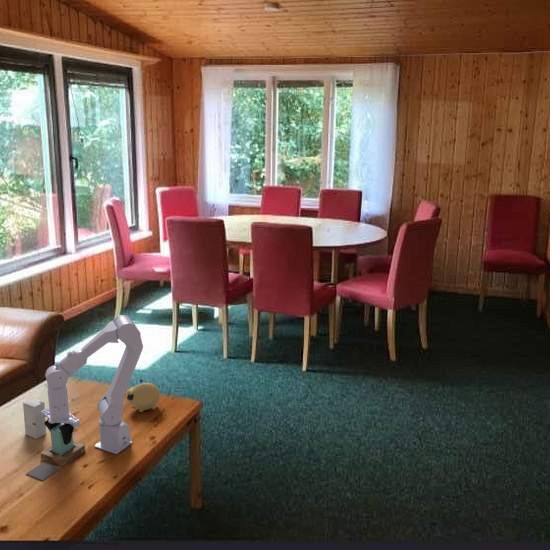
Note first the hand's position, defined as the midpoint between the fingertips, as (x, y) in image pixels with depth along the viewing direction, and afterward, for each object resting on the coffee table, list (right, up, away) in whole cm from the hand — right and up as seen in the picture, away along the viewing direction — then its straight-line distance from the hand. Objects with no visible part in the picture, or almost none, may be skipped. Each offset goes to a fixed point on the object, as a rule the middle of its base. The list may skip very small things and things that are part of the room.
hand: (62, 441), depth 188 cm
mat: (-3, -7, -8) cm, 11 cm away
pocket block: (0, -5, +1) cm, 5 cm away
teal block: (0, -3, +1) cm, 3 cm away
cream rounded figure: (+19, +3, +31) cm, 36 cm away
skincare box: (-14, -1, +13) cm, 19 cm away
